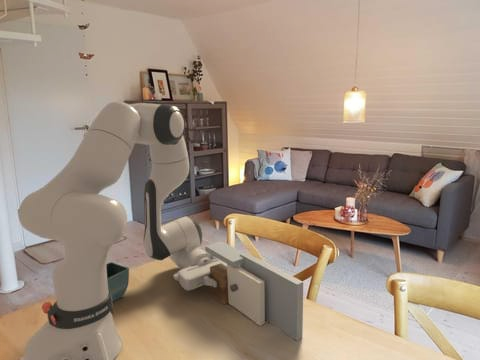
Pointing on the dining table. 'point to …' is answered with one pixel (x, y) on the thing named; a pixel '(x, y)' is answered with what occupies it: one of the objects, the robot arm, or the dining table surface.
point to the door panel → (246, 293)
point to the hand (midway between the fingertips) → (225, 281)
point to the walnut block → (220, 282)
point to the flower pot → (117, 279)
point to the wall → (269, 288)
